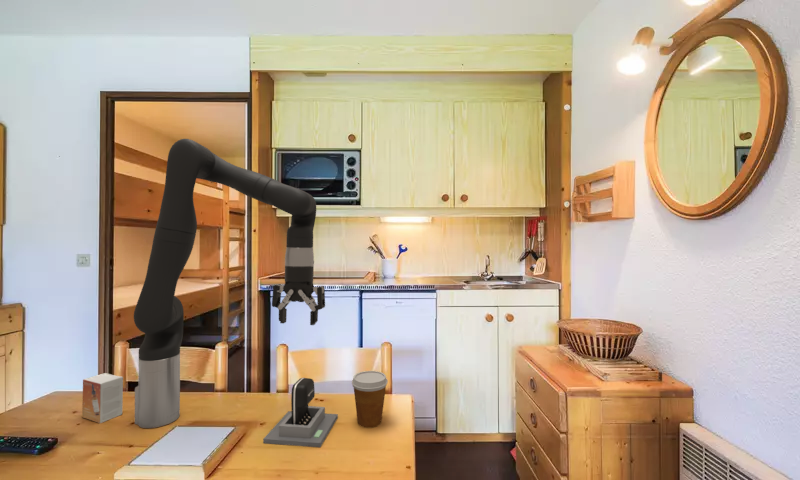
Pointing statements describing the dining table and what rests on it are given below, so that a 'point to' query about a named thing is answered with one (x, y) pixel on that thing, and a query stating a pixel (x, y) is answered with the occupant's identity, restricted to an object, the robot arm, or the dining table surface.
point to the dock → (302, 429)
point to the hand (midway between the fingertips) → (298, 323)
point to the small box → (102, 397)
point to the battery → (302, 401)
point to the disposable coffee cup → (369, 397)
